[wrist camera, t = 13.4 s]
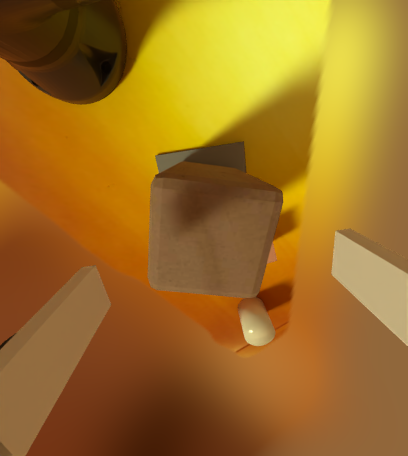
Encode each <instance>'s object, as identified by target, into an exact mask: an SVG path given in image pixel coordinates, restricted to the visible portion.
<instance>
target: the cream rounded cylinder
mask: <svg viewBox="0 0 408 456" xmlns="http://www.w3.org/2000/svg"><path fill="white" fill-rule="evenodd" d="M238 312H239V316H240V320H241V324H242V328H243V332H244V336H245V340H246V341H247V342H248V343H249V344H251V345H255V346H261V345H265V344H267V343H269V342H270V341H272V340H273V338H274V336H275V330H274V327H273V325H272V322H271V320H270V318H269V315H268V313H267V311H266V308H265V306H264V303H263V301H262V300H261V299H259V298H257V297H253V298H244V299H243V300H242V301H241V302H240V303H239V305H238Z"/></svg>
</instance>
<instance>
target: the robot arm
mask: <svg viewBox="0 0 408 456" xmlns="http://www.w3.org/2000/svg"><path fill="white" fill-rule="evenodd" d="M126 55H127V43H126V34H125V29H124V25H123V22H122V19H121V16H120V13H119V11H118V9H117V7H116V5H115V3H114V1H113V0H0V57H1V58H3V59H5V60H6V61H7V62H8V63H9V64H10V65H11V66H13V67H14V68H15V69H16V70H18V71H19V73H20V74H21V75H22V76H23V77H24V78H25V79H27V80H28V81H29V82H30V83H31V84H32V85H33V86H35V87H36V88H38V89H39V90H41V91H42V92H44V93H46V94H48V95H50V96H52V97H54V98H57V99H60V100H62V101H65V102H68V103H73V104H90V103H94V102H97V101H99V100H101V99H103V98H104V97H106V96H107V95H108V94H110V93H111V92H112V91H113V89H114V88H115V87H116V85H117V84H118V82H119V80H120V79H121V76H122V74H123V71H124V67H125V63H126ZM332 275H333V276H334V277H335V278H336V279H337V280H338V281H339V282H340V283H341V284H342V285H343V286H344V287H345V288H347V289H348V290H349V291H350V292H351V293H352V294H353V295H354V296H355V297H356V298H357V299H358V300H359V301H360V302H361V303H362V304H364V305H365V306H366V307H367V308H368V309H369V310H370V311H371V312H372V313H373V314H374V315H375V316H376V317H377V318H378V319H379V320H380V321H382V322H383V323H384V324H385V325H386V326H387V327H388V328H389V329H390V330H391V331H392V332H393V333H394V334H395V335H396V336H397V337H398V338H399V339H401V340H402V341H403V342H404V343H405V344H406V345H407V346H408V259H407V258H405V257H403V256H401V255H399V254H397V253H396V252H394V251H391V250H390V249H388V248H386V247H384V246H382V245H380V244H378V243H377V242H375V241H373V240H371V239H369V238H367V237H365V236H363V235H361V234H359V233H357V232H356V231H354V230H352V229H344V230H337V231H336V233H335V243H334V254H333V265H332ZM110 306H111V303H110V300H109V298H108V295H107V293H106V291H105V288H104V285H103V283H102V280H101V278H100V275H99V273H98V270H97V268H96V265H94V266H87V267H82V268H81V269H80V270H79V271H78V272H77V273H76V274H75V275H74V276H73V277H72V278H71V279H70V280H69V281H68V282H67V283H66V284H65V285H64V286H63V287H62V288H61V289H60V290H59V291H58V292H57V293H56V294H55V295H54V296H53V297H52V298H51V299H50V300H49V301H48V302H47V303H46V304H45V305H44V306H43V307H42V308H41V309H40V310H39V311H38V312H37V313H36V314H35V315H34V316H33V317H32V318H31V319H30V320H29V321H28V322H27V323H26V324H25V325H24V326H23V328H21V329H20V330H19V331H18V332H17V333H16V334H14V335H13V336H11V337H10V338H9V339H7V340H6V341H5V342H4V343H2V345H0V456H25V455H26V454H27V452H28V450H29V448H30V447H31V445H32V443H33V441H34V439H35V437H36V436H37V434H38V432H39V431H40V429H41V427H42V425H43V424H44V422H45V420H46V418H47V417H48V415H49V413H50V411H51V409H52V408H53V406H54V404H55V402H56V401H57V399H58V397H59V395H60V394H61V392H62V390H63V388H64V387H65V385H66V383H67V381H68V380H69V378H70V376H71V374H72V373H73V371H74V369H75V367H76V365H77V363H78V362H79V360H80V358H81V357H82V355H83V353H84V351H85V350H86V348H87V346H88V344H89V343H90V341H91V339H92V337H93V336H94V334H95V332H96V330H97V329H98V327H99V325H100V323H101V322H102V320H103V318H104V316H105V314H106V313H107V311H108V309H109V307H110Z"/></svg>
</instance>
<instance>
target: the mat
mask: <svg viewBox="0 0 408 456" xmlns="http://www.w3.org/2000/svg"><path fill="white" fill-rule="evenodd" d="M155 157H156V161H157V166H158V170H159V173H161V172H162V171H164V170H166V169H168V168H170V167H172V166H174V165H176V164H178V163H180V162H183V161H185V162H193V163H201V164H208V165H216V166H224V167H231V168H236V169H238V170H240V171H242V172H245V173H246V164H245V151H244V142H238V143H232V144H226V145H219V146H213V147H207V148H201V149H194V150H188V151H182V152H176V153H170V154H163V155H157V156H155Z"/></svg>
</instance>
